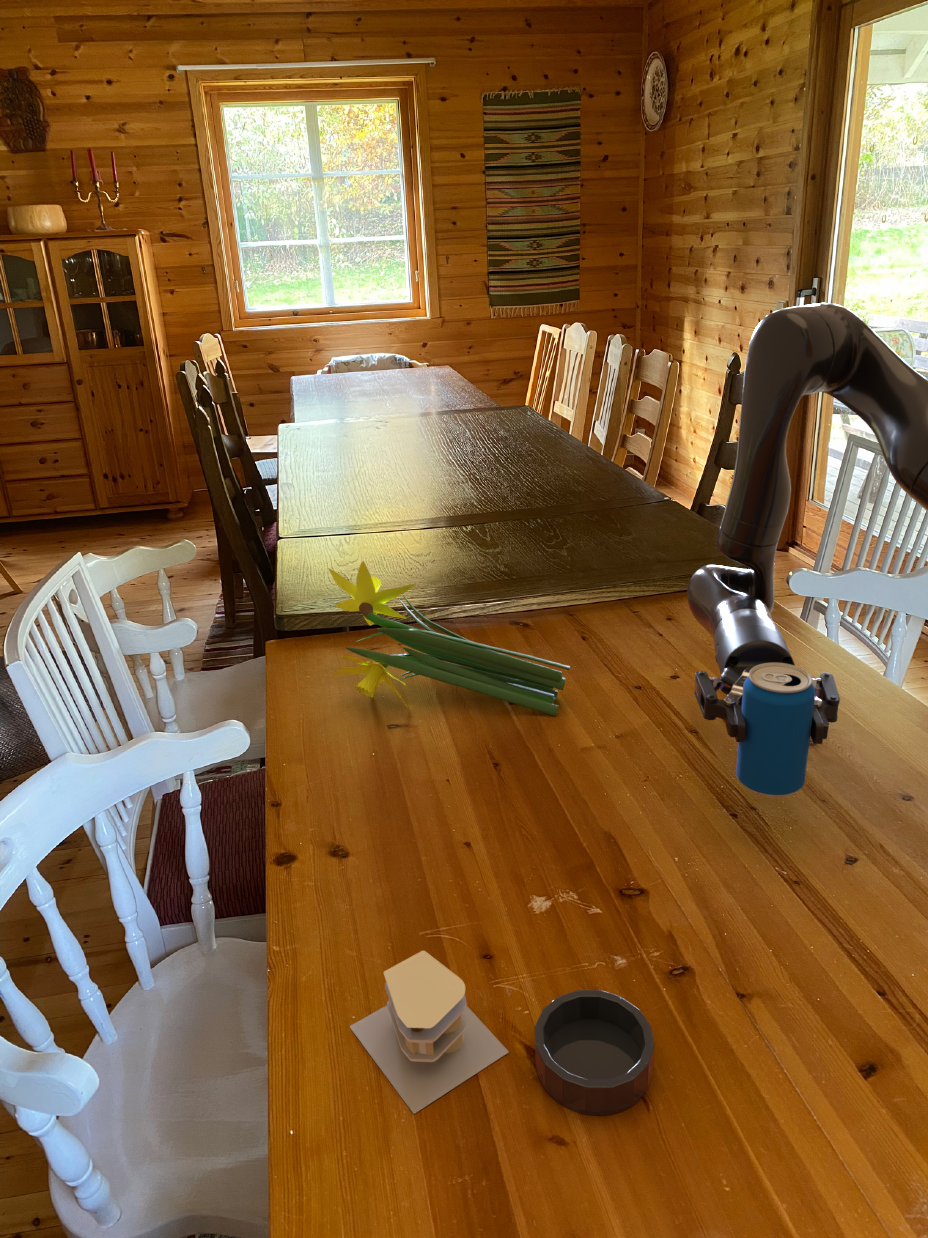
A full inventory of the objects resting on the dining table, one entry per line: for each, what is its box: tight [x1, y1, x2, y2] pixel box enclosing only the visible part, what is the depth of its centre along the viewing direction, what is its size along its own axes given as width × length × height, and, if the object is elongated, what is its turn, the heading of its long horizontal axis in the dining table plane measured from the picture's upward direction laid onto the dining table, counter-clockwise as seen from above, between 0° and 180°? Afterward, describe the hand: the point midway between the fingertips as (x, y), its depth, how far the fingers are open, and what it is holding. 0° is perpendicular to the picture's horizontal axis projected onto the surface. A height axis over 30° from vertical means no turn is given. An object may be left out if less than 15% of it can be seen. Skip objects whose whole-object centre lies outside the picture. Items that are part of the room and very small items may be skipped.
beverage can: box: [735, 663, 815, 798], centre depth 88 cm, size 6×6×12 cm
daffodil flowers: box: [328, 561, 571, 717], centre depth 122 cm, size 17×15×35 cm
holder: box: [534, 989, 656, 1117], centre depth 71 cm, size 9×9×3 cm
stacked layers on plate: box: [349, 950, 510, 1115], centre depth 73 cm, size 10×9×6 cm
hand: (780, 734), depth 86 cm, fingers closed on beverage can, 6 cm apart
